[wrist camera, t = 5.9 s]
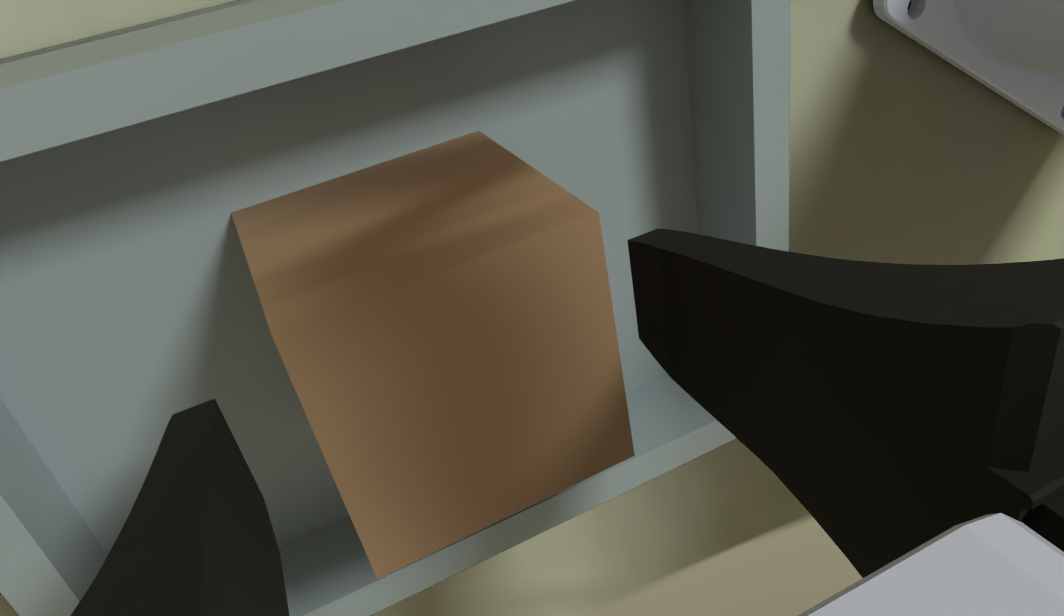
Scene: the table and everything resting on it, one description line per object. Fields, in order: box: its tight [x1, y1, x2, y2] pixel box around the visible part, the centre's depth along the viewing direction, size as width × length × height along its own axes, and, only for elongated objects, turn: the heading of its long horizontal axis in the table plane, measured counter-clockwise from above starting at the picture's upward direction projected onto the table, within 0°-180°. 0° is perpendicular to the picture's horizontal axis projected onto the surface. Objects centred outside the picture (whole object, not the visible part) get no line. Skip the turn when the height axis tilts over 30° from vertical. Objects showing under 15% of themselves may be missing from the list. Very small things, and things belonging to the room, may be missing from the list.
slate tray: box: [0, 0, 790, 616], centre depth 14 cm, size 15×11×2 cm
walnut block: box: [231, 131, 635, 579], centre depth 13 cm, size 4×4×4 cm
